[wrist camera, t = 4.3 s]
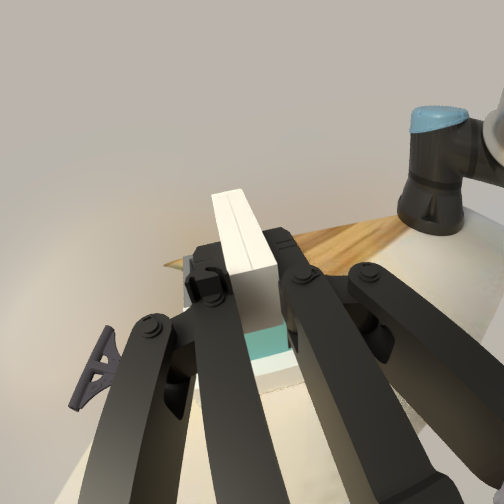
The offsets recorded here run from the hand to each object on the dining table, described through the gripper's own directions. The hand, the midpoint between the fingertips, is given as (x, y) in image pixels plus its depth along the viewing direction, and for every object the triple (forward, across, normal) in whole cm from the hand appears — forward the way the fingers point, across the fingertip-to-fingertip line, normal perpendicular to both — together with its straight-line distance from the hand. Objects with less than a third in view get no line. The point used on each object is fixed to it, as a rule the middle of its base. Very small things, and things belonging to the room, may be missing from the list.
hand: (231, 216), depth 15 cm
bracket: (+8, -16, -23) cm, 29 cm away
